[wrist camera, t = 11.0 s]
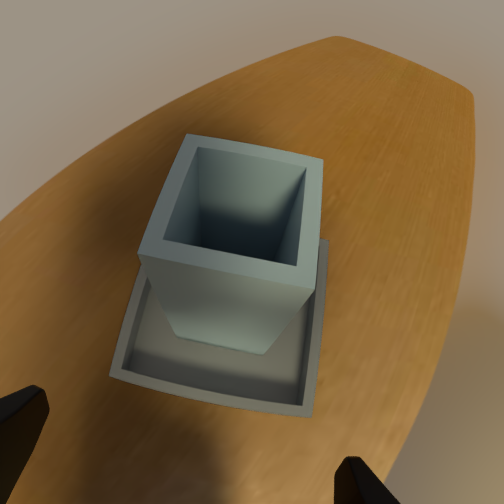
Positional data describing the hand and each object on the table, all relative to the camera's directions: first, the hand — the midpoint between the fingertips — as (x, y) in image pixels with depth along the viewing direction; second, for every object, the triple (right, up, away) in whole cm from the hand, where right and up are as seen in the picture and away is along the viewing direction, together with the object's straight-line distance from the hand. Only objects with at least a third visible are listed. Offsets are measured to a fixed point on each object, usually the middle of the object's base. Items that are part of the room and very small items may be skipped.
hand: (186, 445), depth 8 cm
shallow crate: (0, +1, +16) cm, 16 cm away
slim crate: (0, +1, +15) cm, 15 cm away
